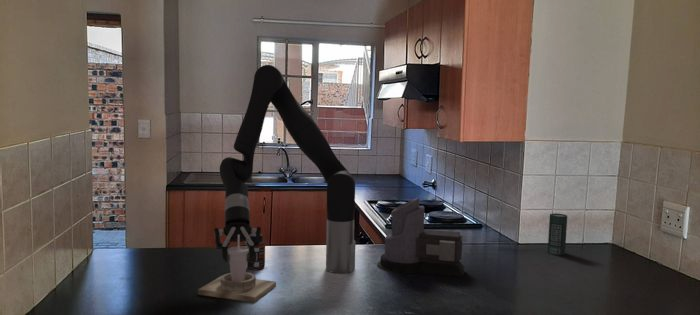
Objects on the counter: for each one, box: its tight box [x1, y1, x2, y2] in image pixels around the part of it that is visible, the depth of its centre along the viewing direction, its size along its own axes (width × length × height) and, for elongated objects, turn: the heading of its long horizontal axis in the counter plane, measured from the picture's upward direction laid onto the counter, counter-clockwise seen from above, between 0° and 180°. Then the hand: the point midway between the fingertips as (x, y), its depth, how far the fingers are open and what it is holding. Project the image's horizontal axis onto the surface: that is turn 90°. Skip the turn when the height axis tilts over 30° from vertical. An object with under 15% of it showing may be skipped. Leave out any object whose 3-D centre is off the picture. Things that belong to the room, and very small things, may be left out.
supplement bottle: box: [246, 233, 266, 271], centre depth 178 cm, size 6×6×11 cm
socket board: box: [197, 271, 277, 303], centre depth 156 cm, size 18×14×4 cm
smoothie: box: [227, 235, 249, 282], centre depth 156 cm, size 6×6×14 cm
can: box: [547, 213, 568, 256], centre depth 206 cm, size 6×6×15 cm
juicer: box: [376, 197, 465, 278], centre depth 183 cm, size 30×16×24 cm, turn 76°
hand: (238, 259), depth 154 cm, fingers closed on smoothie, 6 cm apart
